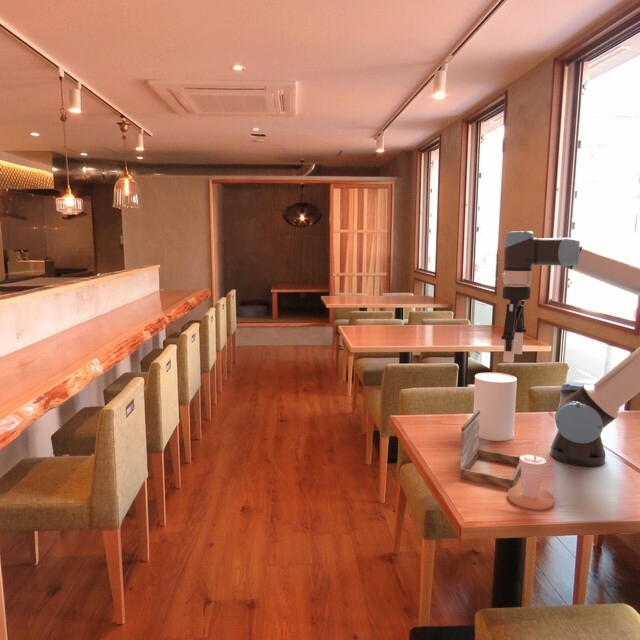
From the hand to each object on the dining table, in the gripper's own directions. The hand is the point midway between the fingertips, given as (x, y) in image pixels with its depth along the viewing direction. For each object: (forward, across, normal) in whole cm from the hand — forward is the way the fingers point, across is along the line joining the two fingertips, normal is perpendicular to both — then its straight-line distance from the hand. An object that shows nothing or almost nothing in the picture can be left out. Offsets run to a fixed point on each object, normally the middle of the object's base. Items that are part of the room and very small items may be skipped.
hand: (512, 357), depth 158 cm
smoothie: (+31, +23, +10) cm, 40 cm away
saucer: (+32, +23, +10) cm, 40 cm away
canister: (+32, -22, -9) cm, 40 cm away
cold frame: (+32, +10, -2) cm, 33 cm away
